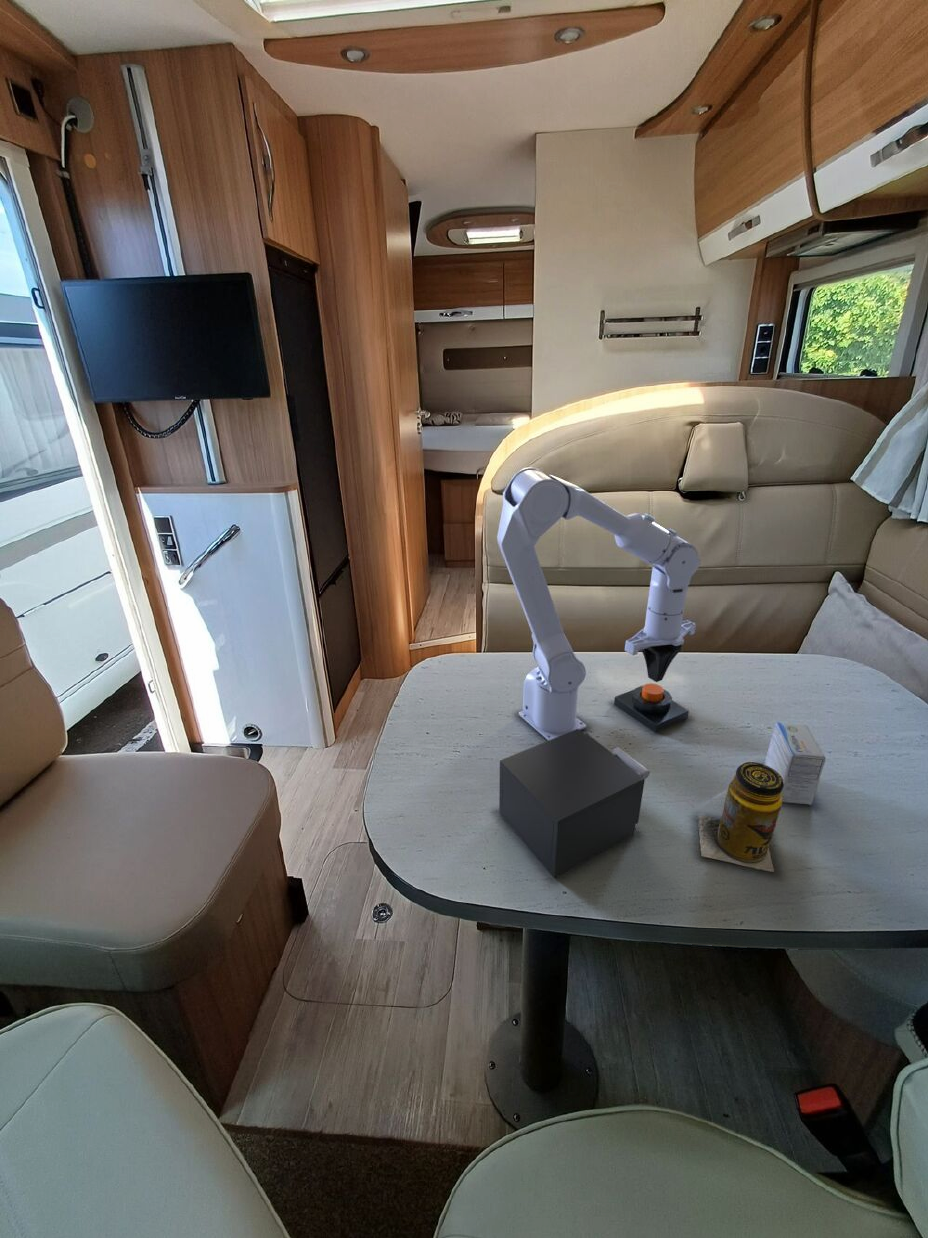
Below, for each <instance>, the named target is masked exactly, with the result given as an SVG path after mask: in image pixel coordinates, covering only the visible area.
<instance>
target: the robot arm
mask: <svg viewBox="0 0 928 1238" xmlns="http://www.w3.org/2000/svg"><path fill="white" fill-rule="evenodd" d="M576 517H581V518H583V519H584V520H587V521H588V522H590V523H592V524H594V525H596V526H598V527H600V528H602V529H604V530H606V531H608V532H609V533H612V534H613V535H614V541H615V543H616V546H617V547H619V548H620V549H622V550H624V551H626V552H628V553H629V554H631V555H633V556H635V557H636V558H638V559H640V560H642V561H644V562H645V563H647V564H649V565H652V567H651V568H652V569H651V577H650V584H649V592H648V600H647V605H646V606H647V607H646V613H645V622H644V627H643V628H642V629H641V630H640V631H638V632H637V633H635V635H633V636H632V637H631V638H628V639H626V640H625V646H624V651H625V652H627V653H628V654H630V655H631V656H635V655H638V653H639V651H641V652H642V654H643V658H644V661H645V666H646V671H647V677H648V678H649V679H650V680H651V681H654V682H655V683H658V682H661V681H663V679H664V677H665V675H666V673H667V671H668V669H669V667H670V665H671V663H672V662H673V660H674V659H675V657H676V656H677V655H678V654H679V653H680V652H681V651H682V647H683V644H684V642H685V639H684V637H685V636H687V635H689V636H693V635H694V634H695V633H696V629H697V628H696V627H697V623H695V622H692V621H690V620H688V619H686V620H683V619H684V613H685V608H686V607H685V606H686V601H687V594H688V588H689V585H690V584H691V579H692V577H693V575H694V574H695V573H696V572H697V571H698V569H699V567H700V565H701V562H702V560H701V559H700V558H699V552H698V549H697V548H696V546H695V545H694V544H692V543H690V542H688V541H687V540H685V539H683V538H681V537H679V536H678V532H677V531H675V530H673V529H672V528H668V529H666V528H665V527H663V526H661V525H660V524H658V523H656V522H655V521H656V518H655V517H654V516H653V515H650V514H649V513H647V512H645V513H644V514H641V513H638V512H635V513H631V514H628V515H624V514H623V513H621V512H619V511H618V510H616V509H615V508H613V507H612V506H610V505H608V504H607V503H605V502H603V500H601V499H599V498H598V497H596V496H595V495H593V494H591V493H589V492H588V491H587V490H585V489H584V488H581V487H580V486H578V485H576V484H574V483H572V482H569V481H566V480H564V479H562V478H560V477H557V476H554V475H552V474H548V475H546V473H544V472H543V471H542V470H541V469H539V468H535V467H525V468H522V469H520V470H518V471H517V472H516V473H515V474H514V475H513V476H512V478H511V479H510V481H509V482H508V484H507V485H506V487H505V489H504V490H503V492H502V508H501V514H500V520H499V525H498V530H497V535H496V539H497V545H498V547H499V550H500V551H501V555H502V558H503V561H504V563H505V566H506V568H507V571H508V573H509V576H510V579H511V582H512V584H513V586H514V589H515V592H516V594H517V597H518V600H519V602H520V605H521V607H522V610H523V613H524V615H525V618H526V621H527V623H528V626H529V628H530V631H531V639H532V642H533V648H532V657H533V659H534V661H535V662H536V664H537V666H538V667H535V668H534V669H532V670H531V671H530V672H529V673H527V675H526V677H525V679H524V682H523V695H522V697H523V698H522V710H520V711H519V712H518V715H519V717H521V718H522V719H523V720H524V721H525V722H526V723H527V724H529V726H531V727H532V728H533V729H535V731H537V732H538V733H539V734H540V735H541V736H542V737H543V738H545V740H546V741H549V740H551V739H554V738H556V737H559V736H561V735H563V734H566V733H568V732H571V731H573V730H576V729H579V730H580V731H582V730H584V729H586V728H587V724H586V723H584V721H582V720H580V718H578V717H577V707H578V694H579V687H580V686H581V685H582V683H583V682H584V681H585V678H586V673H587V671H586V666H585V665H584V663H583V662H582V661H581V660H580V659H579V658H578V656H577V655H576V654H575V652H574V650H573V649H572V646H571V644H570V642H569V640H568V639H567V636H566V635H565V632H564V629H563V626H562V623H561V621H560V618H559V614H558V612H557V609H556V606H555V604H554V603H555V602H554V600H553V598H552V595H551V591H550V589H549V585H548V583H547V580H546V577H545V574H544V571H543V569H542V566H541V564H540V561H539V560H540V559H539V558H538V554H537V552H536V549H535V545H536V544H537V542H538V541H539V539H540V538H541V537H542V536H543V535H544V534H545V533H546V532H547V531H548V530H550V529H551V528H552V527H553V526H554V525H556V523H557V522H559V520H560V519H561V518H563V519H564V520H565V521H569V520H571V519H573V518H576Z"/></svg>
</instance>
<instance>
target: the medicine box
mask: <svg viewBox="0 0 928 1238" xmlns="http://www.w3.org/2000/svg"><path fill="white" fill-rule="evenodd" d="M825 763H826V756H825V754H824V752H823V751H822V749H821V748H820V746H819V744H818V742H817V740H816V739H815V737H814V735H813V734H812V732H811V730H810V728H809V727H808V725H807V724H803V723H793V722H780V721H779V722H778V721H777V722H775V724H774V727H773V729H772V735H771V739H770V742H769V746H768V750H767V753H766V758H765V762H764V765H767V766H769V767H771V768H772V769H774V770H775V771H777V772H778V773H779V775H780V776H781V777H782V779H783V783H784V787H783V789H782V793H781V798H782V803H788V804H789V803H790V804H799V805H800V804H802V805H808V806H809V805H810V806H811V805H812V804H813V802H814V799H815V795H816V792H817V788H818V786H819V783H820V778H821V776H822V772H823V769H824V766H825Z"/></svg>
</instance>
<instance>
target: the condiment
mask: <svg viewBox="0 0 928 1238" xmlns="http://www.w3.org/2000/svg"><path fill="white" fill-rule="evenodd" d="M735 770H736V771H735V775H734V776H733V779H732V780H731V781H730V783H729V784H728V788H727V792H726V796H725V800H724V805H723V809H722V812H721V816H720V817H721V818H717V817H711V816H709V815H704V814H697V818H698V819H697V821H698V833H699V845H700V846H699V847H700V855H701V857H703V858H709V859H713V860H718V861H722V862H728V863H732V864H735V865H739V866H743V867H748V868H752V869H756V870H762V871H766V872H771V873H772V872H775V869H774V865H773V861H772V857H771V852H770V844H771V843H772V838H773V835H774V832H775V828H776V826H777V821H778V818H779V815H780V812H781V809H782V804H783V802H782V798H781V793H782V789H783V787H784V783H783V779H782V777H781V776H780V775H779V773H778V772H777V771H775V770H774V769H772V768H771V767H769V766H767V765H765V763H760V762H757V761H756V762H755V761H747V762H744V763H742V764H740V765H739V766H738V767H737V768H736V769H735Z"/></svg>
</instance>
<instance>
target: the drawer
mask: <svg viewBox="0 0 928 1238" xmlns="http://www.w3.org/2000/svg"><path fill="white" fill-rule="evenodd" d="M584 734H585V735H587V736H588V737H589V738H590V739H592V740H593V741H594V742H595V743H597V744H598V745H599V746H600V747H602V748H603V749H604V750H605V751H607V752H608V753H609V754H611V755H612V756H613V757H614V758H616V759H617V760H618V761H619V762H621V763H622V764H623V765H624V766H626V767H627V768H628V769H629V770H631V771H632V772H633V773H634V774H636V775H637V776H638V777H639V778H641V779H642V784H641V785H642V786H641V793H640V800H639V806H638V813H637V819H636V825H637V824H639V820H640V813H641V807H642V802H643V801H642V799H643V794H644V787H645V781H646V779H648V777H649V776H650V774H651V772H650V770H649V769H648V768H646V767H645V766H644V765H642V764H641V763H640V762H638V761H637V760H636V759H634V758H633V757H632V756H630V755H629V754H628V753H627V752H626V751H624V750H623V749H622V748H620V747H619V746H617V747H614V749H613V750H612V752H611V751H610V750H609V749H608V748H606V747H605V746H604V745H602V744H601V743H600V742H598V741H597V740H596V739H595V738H593V737H592V736H591V735H590V734H588V733H586V732H585V733H584Z"/></svg>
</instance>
